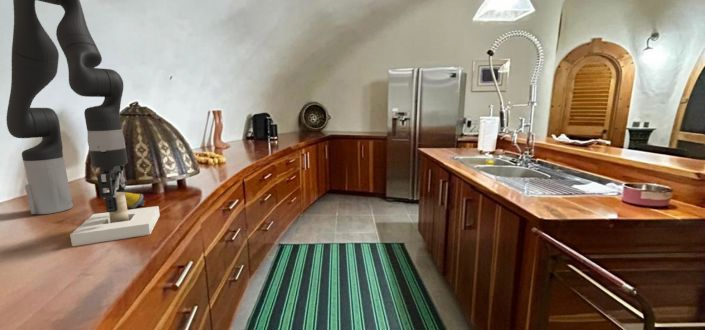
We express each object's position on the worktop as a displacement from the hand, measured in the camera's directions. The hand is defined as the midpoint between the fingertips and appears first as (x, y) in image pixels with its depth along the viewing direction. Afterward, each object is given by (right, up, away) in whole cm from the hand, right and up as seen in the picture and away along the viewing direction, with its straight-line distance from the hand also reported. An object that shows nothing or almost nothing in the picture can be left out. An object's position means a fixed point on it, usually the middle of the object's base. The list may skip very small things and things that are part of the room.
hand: (117, 206), depth 84 cm
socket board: (0, -6, +1) cm, 6 cm away
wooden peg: (0, -6, +1) cm, 6 cm away
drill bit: (-9, -3, +19) cm, 21 cm away
